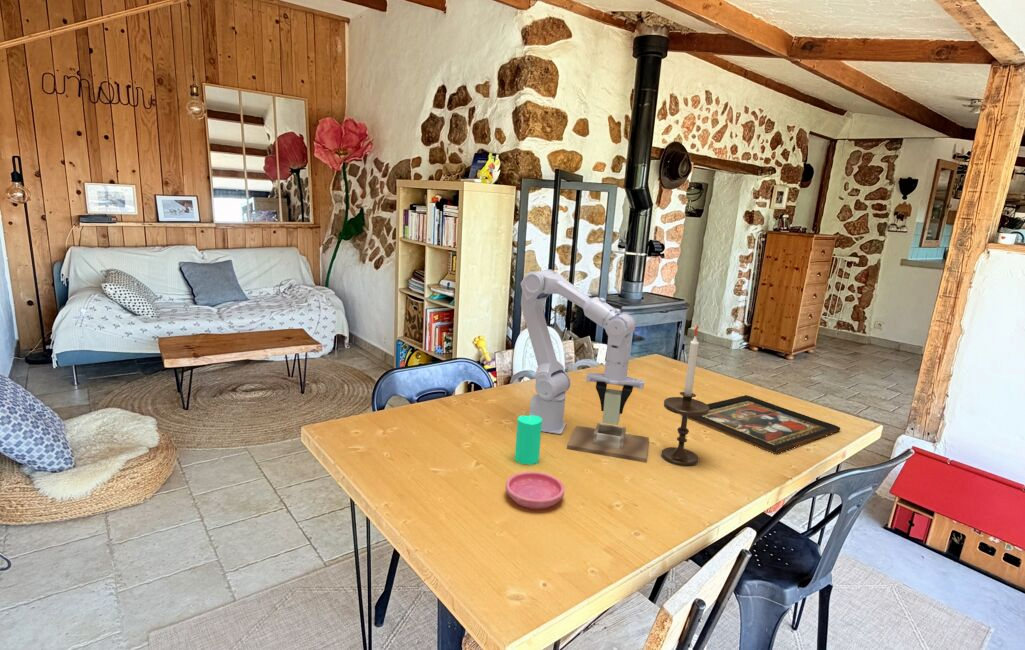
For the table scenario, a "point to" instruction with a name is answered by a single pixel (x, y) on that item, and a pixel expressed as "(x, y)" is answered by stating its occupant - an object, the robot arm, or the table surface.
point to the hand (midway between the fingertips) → (611, 411)
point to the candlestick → (685, 412)
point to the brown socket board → (609, 442)
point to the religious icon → (763, 424)
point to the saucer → (535, 489)
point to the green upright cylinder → (528, 439)
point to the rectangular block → (612, 406)
